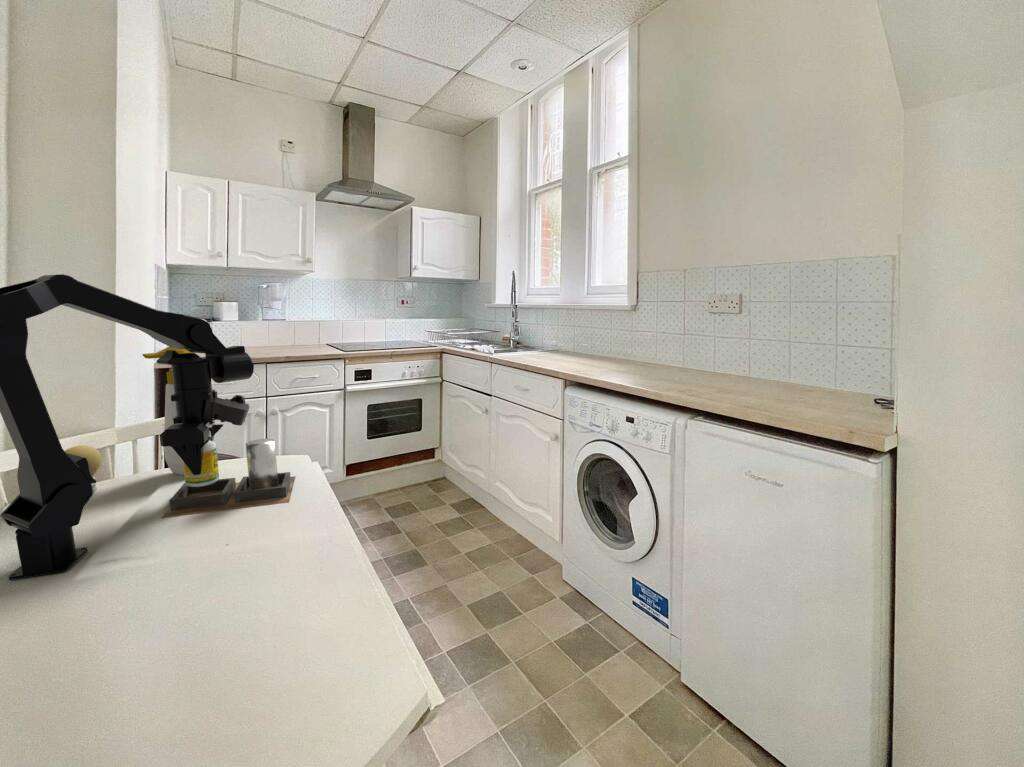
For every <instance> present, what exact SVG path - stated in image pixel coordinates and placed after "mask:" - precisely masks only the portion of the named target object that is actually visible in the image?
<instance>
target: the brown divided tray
mask: <svg viewBox="0 0 1024 767" xmlns="http://www.w3.org/2000/svg"><path fill="white" fill-rule="evenodd" d="M295 480H296V476H295V475H294V476H291V472H290V471H288V472H287V471H286V472H278V485H279V486H278V487H269V488H260V489H251V490H250V487H249V476H247V475H246V476H242V478H241V480H240V481H239V482H236V477H230V478H229V477H227V478H221V479H220V478H219V480H218V481H216V482H215V483H213V484H210V485H206V486H201V487H191V486H187V485H186V484H185V482H184V483H183V484H182V485H181V487H180V488H179V489H178V490H177V491H176V492H175V494H174V495H172V497H171V498H170V499H169V507H168V509H167V510H166V511H165V512H164V514H162V516H161V517H160V518H161V519H165V518H174V517H182V516H183V517H185V516H190V515H198V514H207V513H215V512H222V511H231V510H238V509H239V510H240V509H246V508H255V507H261V506H270V505H271V506H272V505H277V504H286V503H290V501H291V497H292V492H293V488H294V486H295V485H294V484H295Z"/></svg>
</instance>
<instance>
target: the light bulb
mask: <svg viewBox="0 0 1024 767" xmlns="http://www.w3.org/2000/svg"><path fill="white" fill-rule="evenodd" d="M64 451H65V453H69V454H73V455H77V456H80V457H84V458H86V459H87V462H88V465H89V472H90V474H91V476H92V478H94V479H95V480H96V477H95V474H96V473H97V471H98V470H99V469H100V466H101V465H102V461H103V460H102V454H101V453H100V451H99V450H98V449H97V448H96V447H92V446H90V445H76V446H72V447H68V448H67V449H65V450H64ZM96 481H97V480H96ZM91 485H92V488H93V494H94V493H95V492H97V490H98V487H97V482H96V483H91Z"/></svg>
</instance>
